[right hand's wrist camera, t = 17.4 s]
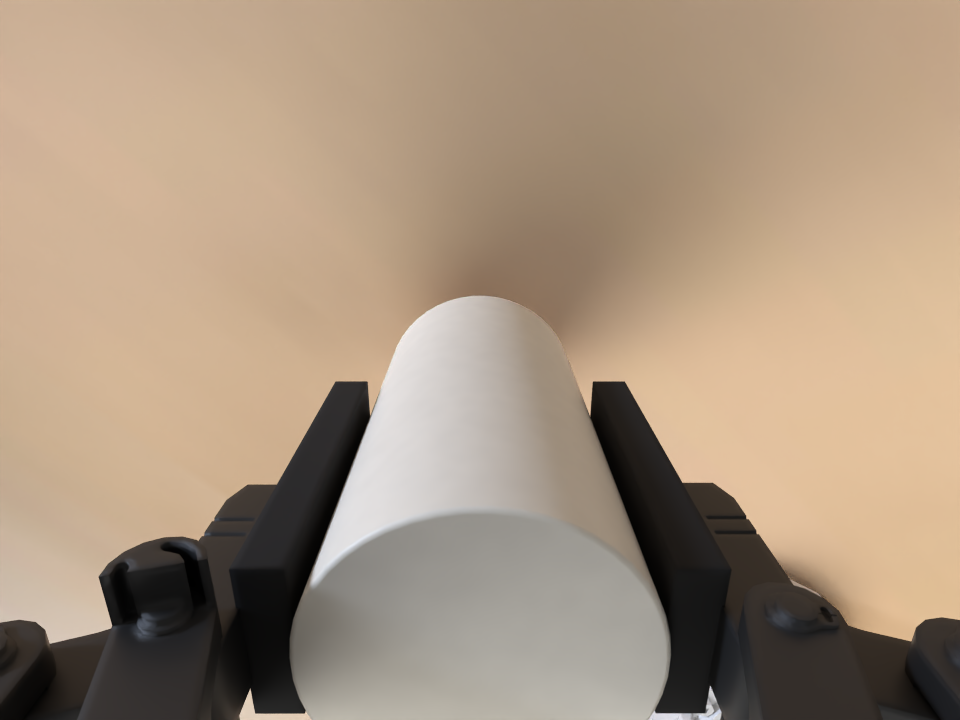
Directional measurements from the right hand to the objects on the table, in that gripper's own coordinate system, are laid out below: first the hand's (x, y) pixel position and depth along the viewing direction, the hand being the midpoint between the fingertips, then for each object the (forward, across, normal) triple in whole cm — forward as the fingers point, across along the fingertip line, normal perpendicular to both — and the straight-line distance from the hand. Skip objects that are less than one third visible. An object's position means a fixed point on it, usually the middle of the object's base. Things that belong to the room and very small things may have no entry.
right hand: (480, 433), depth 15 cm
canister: (+3, 0, 0) cm, 4 cm away
